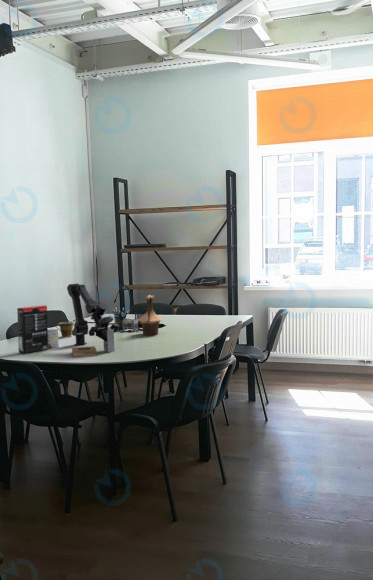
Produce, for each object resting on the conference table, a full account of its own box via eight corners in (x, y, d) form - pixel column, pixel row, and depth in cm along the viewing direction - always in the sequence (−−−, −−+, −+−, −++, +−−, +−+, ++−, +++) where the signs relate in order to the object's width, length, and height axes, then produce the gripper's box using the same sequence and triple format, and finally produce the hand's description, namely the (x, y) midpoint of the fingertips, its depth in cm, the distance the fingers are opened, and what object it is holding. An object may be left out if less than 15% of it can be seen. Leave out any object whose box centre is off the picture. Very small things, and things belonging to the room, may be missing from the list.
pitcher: (161, 336, 344) (160, 295, 341) (137, 336, 344) (135, 296, 342) (163, 332, 361) (162, 293, 359) (140, 332, 362) (138, 294, 359)
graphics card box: (42, 348, 310) (40, 304, 308) (49, 349, 306) (47, 305, 304) (18, 353, 297) (15, 307, 295) (24, 354, 293) (22, 308, 291)
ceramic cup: (76, 335, 356) (75, 321, 356) (71, 338, 346) (70, 323, 346) (58, 335, 358) (57, 321, 357) (53, 338, 348) (52, 324, 347)
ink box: (44, 348, 310) (43, 329, 309) (44, 347, 315) (43, 328, 314) (58, 347, 313) (58, 328, 312) (58, 345, 317) (57, 327, 317)
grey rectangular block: (103, 351, 295) (103, 329, 294) (110, 350, 298) (109, 328, 297) (108, 352, 291) (107, 330, 290) (114, 351, 294) (113, 329, 293)
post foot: (72, 352, 294) (71, 347, 293) (94, 351, 297) (94, 346, 297) (73, 357, 281) (73, 351, 281) (96, 355, 285) (96, 349, 284)
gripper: (90, 313, 290) (101, 334, 282) (117, 310, 302) (128, 330, 294) (84, 325, 296) (94, 346, 289) (110, 321, 308) (121, 341, 301)
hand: (110, 340), depth 293 cm, fingers closed on grey rectangular block, 4 cm apart
